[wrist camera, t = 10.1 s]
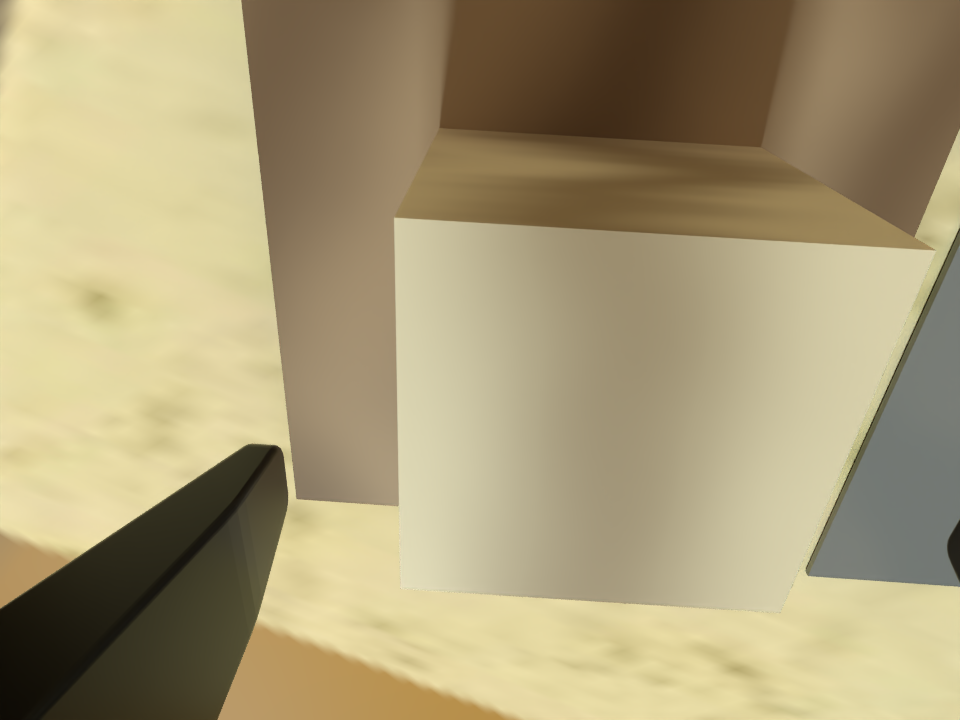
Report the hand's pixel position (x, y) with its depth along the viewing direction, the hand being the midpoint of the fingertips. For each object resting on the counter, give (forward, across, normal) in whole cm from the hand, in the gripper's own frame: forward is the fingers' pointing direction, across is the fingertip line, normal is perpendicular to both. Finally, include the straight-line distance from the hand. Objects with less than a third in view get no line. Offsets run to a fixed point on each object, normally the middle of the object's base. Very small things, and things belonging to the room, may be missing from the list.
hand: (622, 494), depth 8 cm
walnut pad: (+8, 0, 0) cm, 9 cm away
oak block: (+7, 0, 0) cm, 7 cm away
